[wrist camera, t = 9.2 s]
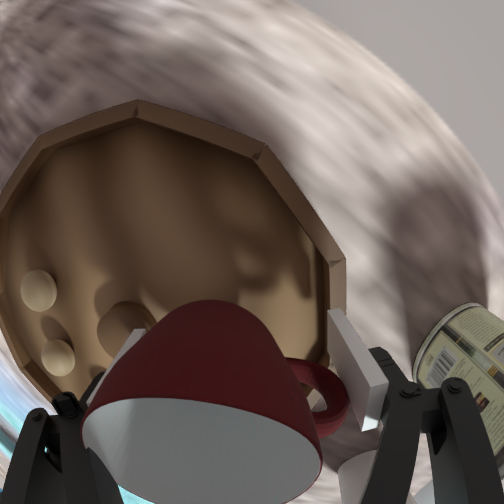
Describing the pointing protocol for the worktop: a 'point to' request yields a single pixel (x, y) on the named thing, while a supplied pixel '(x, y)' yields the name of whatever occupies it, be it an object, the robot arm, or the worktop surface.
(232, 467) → the mug
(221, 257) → the ring tray
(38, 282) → the bead
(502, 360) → the coffee can
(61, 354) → the bead
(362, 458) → the coffee cup
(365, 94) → the worktop surface
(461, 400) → the robot arm
